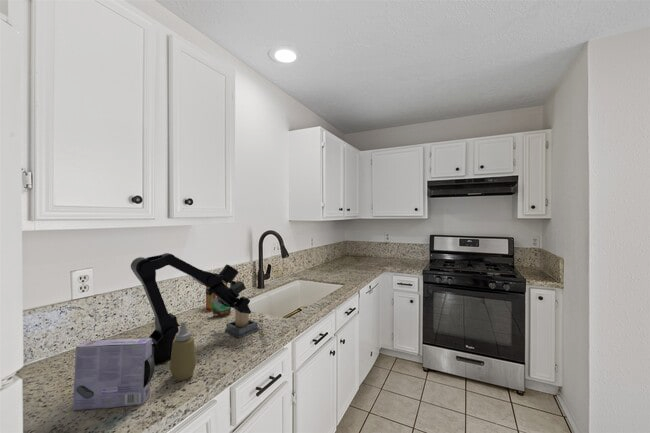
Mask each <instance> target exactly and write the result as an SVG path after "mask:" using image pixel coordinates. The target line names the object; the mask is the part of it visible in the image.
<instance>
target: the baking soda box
mask: <svg viewBox="0 0 650 433" xmlns="http://www.w3.org/2000/svg"><path fill="white" fill-rule="evenodd" d="M222 282H223V281H222ZM223 283H224V282H223ZM224 284H225V285H226V286H227V287H228V284H226V283H224ZM206 288H209V287H207V286H205V289H206ZM211 298H214V299H216V298H217V296H216V295H215V294H213V293H212V294H211V296H209V295H207V294H206V293H205V309H206V310H208V311H212V312H213V310H212V302H211Z"/></svg>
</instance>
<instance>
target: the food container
mask: <svg viewBox="0 0 650 433" xmlns="http://www.w3.org/2000/svg"><path fill="white" fill-rule="evenodd" d="M211 302H212V310H213V311H212V317H213V318H224V317H227V316H229V315H230V314H231V310H232V308H231V307H227V306H224V305H222V304H220V303H219V302H218V298H216V299H214V298H211Z"/></svg>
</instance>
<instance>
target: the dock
mask: <svg viewBox="0 0 650 433" xmlns="http://www.w3.org/2000/svg"><path fill="white" fill-rule="evenodd" d="M258 324H259V323H258V322H257V321H254V320H252V319H250V318H249V325H247V326H245V327H242V328H238V327H236V326H235V320H234V321H231V322H228V323H226V324H225V325H226V326H225V327H226V328H224V333H227V334H229V335H232V336H234V337H236V338H238V339H241V338H243V337H246V336H247V335H250V334H253V333H255V332H258V331H259V330H260V327H258Z"/></svg>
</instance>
